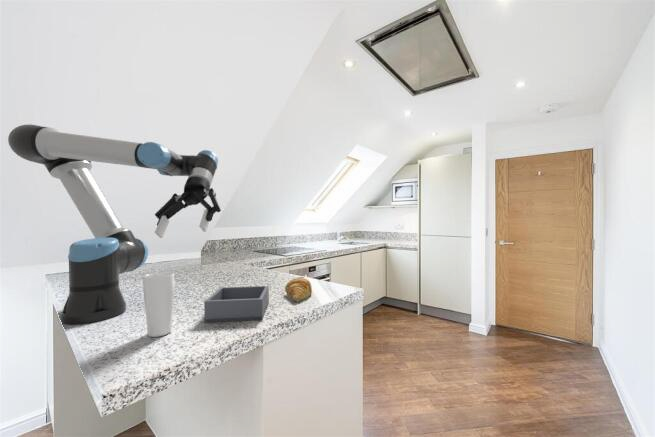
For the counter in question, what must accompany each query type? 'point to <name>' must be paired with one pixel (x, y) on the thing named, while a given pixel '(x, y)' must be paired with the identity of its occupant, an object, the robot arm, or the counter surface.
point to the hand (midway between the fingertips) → (180, 232)
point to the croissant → (298, 289)
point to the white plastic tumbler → (159, 303)
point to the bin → (237, 304)
